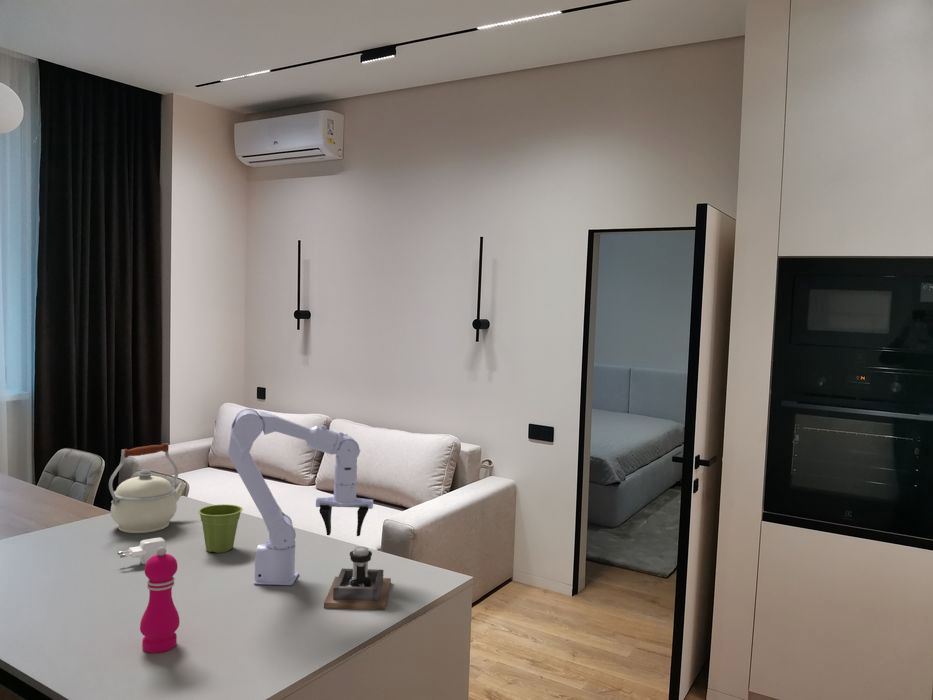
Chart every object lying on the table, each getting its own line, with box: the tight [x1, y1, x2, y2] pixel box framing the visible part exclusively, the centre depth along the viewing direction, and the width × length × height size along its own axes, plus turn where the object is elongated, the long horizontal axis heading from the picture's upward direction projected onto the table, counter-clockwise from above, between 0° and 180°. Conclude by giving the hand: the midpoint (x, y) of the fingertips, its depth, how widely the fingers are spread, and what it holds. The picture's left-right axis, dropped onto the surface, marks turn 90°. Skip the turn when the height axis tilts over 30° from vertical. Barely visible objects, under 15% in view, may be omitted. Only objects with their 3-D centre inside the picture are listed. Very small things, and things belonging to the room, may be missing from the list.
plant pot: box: [197, 503, 243, 554], centre depth 194 cm, size 12×12×11 cm
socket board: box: [323, 568, 392, 610], centre depth 166 cm, size 14×16×4 cm
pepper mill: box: [139, 547, 180, 654], centre depth 137 cm, size 7×7×20 cm
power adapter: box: [117, 537, 167, 566], centre depth 180 cm, size 11×5×6 cm, turn 129°
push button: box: [348, 546, 373, 587], centre depth 165 cm, size 7×5×10 cm
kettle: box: [108, 442, 187, 534], centre depth 212 cm, size 25×18×25 cm
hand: (343, 534), depth 179 cm, fingers open, 7 cm apart
